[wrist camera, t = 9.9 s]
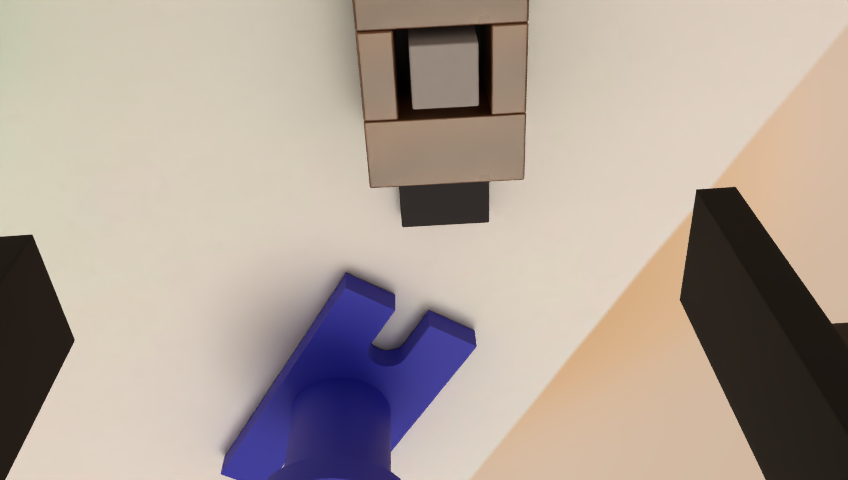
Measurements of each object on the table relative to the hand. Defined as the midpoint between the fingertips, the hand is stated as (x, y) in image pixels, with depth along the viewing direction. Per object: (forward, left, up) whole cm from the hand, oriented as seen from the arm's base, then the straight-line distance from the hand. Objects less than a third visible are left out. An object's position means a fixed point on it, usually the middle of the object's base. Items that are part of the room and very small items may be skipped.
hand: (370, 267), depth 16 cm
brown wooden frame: (+1, +2, -18) cm, 18 cm away
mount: (+22, -4, -19) cm, 29 cm away
